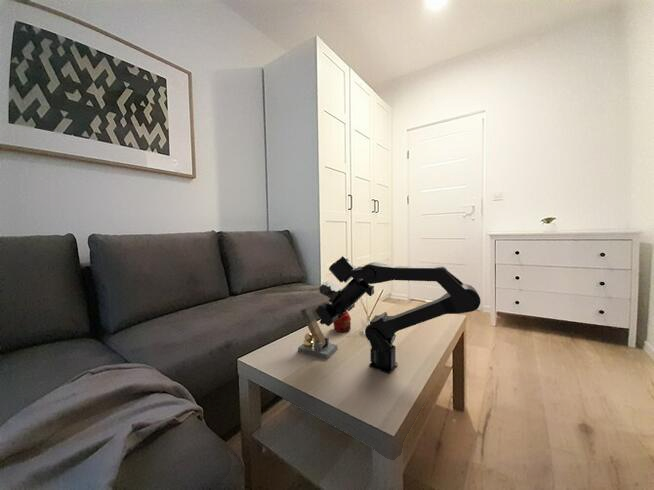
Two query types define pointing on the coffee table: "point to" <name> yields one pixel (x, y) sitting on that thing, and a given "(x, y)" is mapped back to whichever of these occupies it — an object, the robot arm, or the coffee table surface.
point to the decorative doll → (343, 323)
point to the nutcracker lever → (313, 325)
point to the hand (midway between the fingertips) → (321, 322)
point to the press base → (317, 347)
